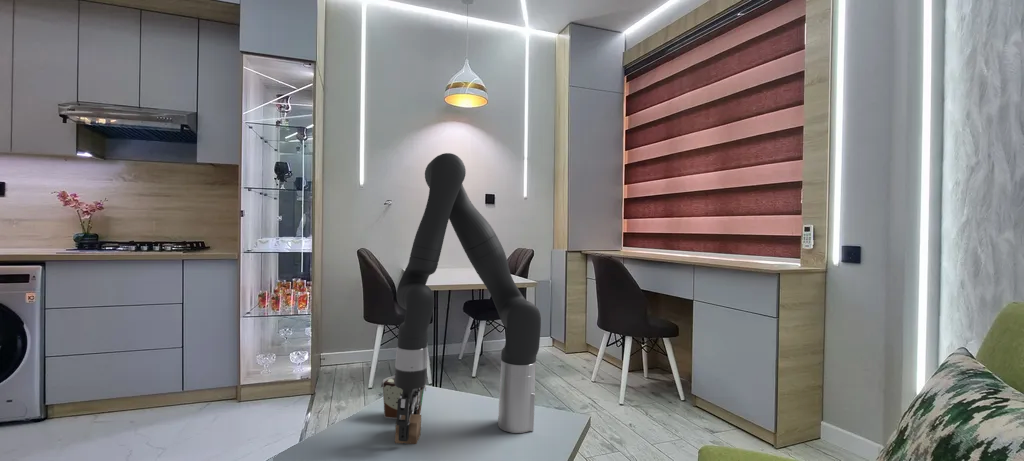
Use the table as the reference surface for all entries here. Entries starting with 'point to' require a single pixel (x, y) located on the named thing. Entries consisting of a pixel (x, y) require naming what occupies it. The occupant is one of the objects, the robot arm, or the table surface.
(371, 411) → the table surface
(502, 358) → the robot arm
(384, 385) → the food container
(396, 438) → the walnut cube
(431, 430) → the table surface
